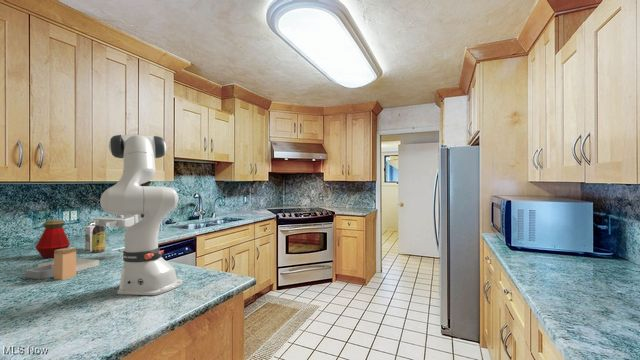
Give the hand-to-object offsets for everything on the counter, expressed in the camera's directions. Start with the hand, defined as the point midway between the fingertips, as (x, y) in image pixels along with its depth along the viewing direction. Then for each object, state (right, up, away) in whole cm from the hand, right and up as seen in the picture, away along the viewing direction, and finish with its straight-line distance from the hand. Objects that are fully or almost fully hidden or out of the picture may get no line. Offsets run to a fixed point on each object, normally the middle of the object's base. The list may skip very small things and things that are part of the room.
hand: (97, 224), depth 130 cm
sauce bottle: (-25, -22, +31) cm, 45 cm away
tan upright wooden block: (-3, -21, -13) cm, 25 cm away
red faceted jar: (-42, -22, +21) cm, 51 cm away
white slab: (-15, -21, -3) cm, 26 cm away
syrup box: (-33, -22, +37) cm, 55 cm away
